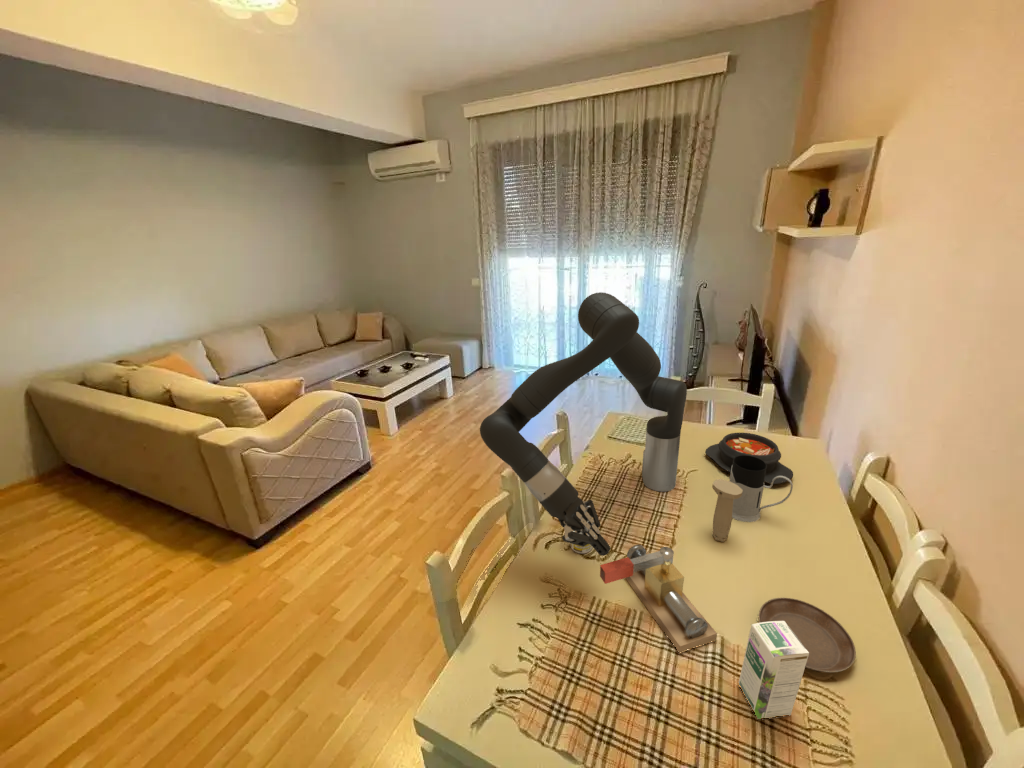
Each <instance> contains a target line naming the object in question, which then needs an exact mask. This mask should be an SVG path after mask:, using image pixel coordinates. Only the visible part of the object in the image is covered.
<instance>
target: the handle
mask: <svg viewBox="0 0 1024 768" xmlns="http://www.w3.org/2000/svg"><path fill="white" fill-rule="evenodd" d="M711 488H712V489H713V491H714V492H715V493H716V494H717V500H716V504H715V507H714V508H715V509H714V513H713V518H712V536H713V538H714V540H715V541H716V542H717V541H718V542H721V543H724V542H725V541H727V540H728V538H729V534H730V530H731V527H732V521H733V518H732V510H733V500H734V499H738V498H740V497H741V496H742V491H743V490H742V489H741V488H740V487H739V486H738V485H736V484H734V483H732V482H730V481H729V480H727V479H723V478H722V479H721V478H718V479H715V480H713V481H712V486H711Z"/></svg>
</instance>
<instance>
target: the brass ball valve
mask: <svg viewBox="0 0 1024 768" xmlns="http://www.w3.org/2000/svg"><path fill="white" fill-rule="evenodd" d="M646 553H647V550H646V548H645V546H643V545H642V544H635V545H633V546H631V547H630V548H629V549H628V551H627V553H626V558H627V557H628V558H629V559H633V558H637V557H640V556H644V555H646ZM640 571H641V572H642V573H643V574H644V576H645V588H646V590H647V591H648V592H649V594H650V595H651V597H652V598H653V599H654V601H655V602H656V603H657V605H658V606H659V607H661V606H664V605H667V606H668V607H669V608H670V610H671V611H672V612H673V614H674V615H675V616H676V618H677V619H678V620H679V622H680V623H681V624H682V625H683V627H684V628H685V630H684V633H685V635H686V636H687V637H688V639H692V638H697V637H699V636H701V635H704V633H705V632H706V630H707V628H708V625H707V623H706V622H705V621H704V619H702V618H698V617H697V616H696V615H695V613H694V612H693V611H692V610H691V609H690V607H689V606H688V605H687V604H686V602H685V601H684V600H683V599H682V592H683V590H684V581H685V577H684V574H682V573H681V572H680V570H679V569H677V567H676V566H675V565H674V564H673V563H672V564H671V565H664V564H661V565H657V566H654V567H651V568H647V569H644V570H640Z"/></svg>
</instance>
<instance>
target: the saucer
mask: <svg viewBox="0 0 1024 768" xmlns="http://www.w3.org/2000/svg"><path fill="white" fill-rule="evenodd" d="M758 621H759V623H761V622H769V621H785V622H786V624H787V625H788V626H789V627H790V629H791V630H792V631H793V633H794V634H795V635H796V636H797V638H798V639H799V641H800V642H801V643H802V645H803V646H804V648H805V649H806V650H807V651H808V652H809V656H808V659H807V662H806V666H805V668H806V669H809V670H812V671H814V672H820V673H838V672H842V671H846V670H848V669H849V668H850V667H851V666H853V664H854V662H855V660H856V656H857V655H856V653H857V651H856V645H855V644H854V641H853V639H852V637H851V636H850V634H849V633H848V632H847V630H846V629H845V627H843V625H842V624H841V623H839V621H838V620H836V619H835V618H834V617H833V616H832V615H830V614H829V613H827V612H826V611H824V610H823V609H821V608H820V607H818V606H815V605H813V604H811V603H809V602H806V601H803V600H800V599H796V598H791V597H777V598H771V599H769V600H767V601H765V602H764V603H763V604H762V606H761V607H760V609H759V612H758Z"/></svg>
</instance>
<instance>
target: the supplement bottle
mask: <svg viewBox="0 0 1024 768" xmlns="http://www.w3.org/2000/svg"><path fill="white" fill-rule="evenodd" d="M586 535H587V534H586ZM587 536H588V535H587ZM569 546H570V548H571V549H572V551H573V552H575V553H576V554H577V553H578V554H587V553H589V552H590V551H592V549H593V547H592V546H591V545H590V544H588V545H586V546H584V547H582V546H579V545H575V544H571V543H569Z"/></svg>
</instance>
